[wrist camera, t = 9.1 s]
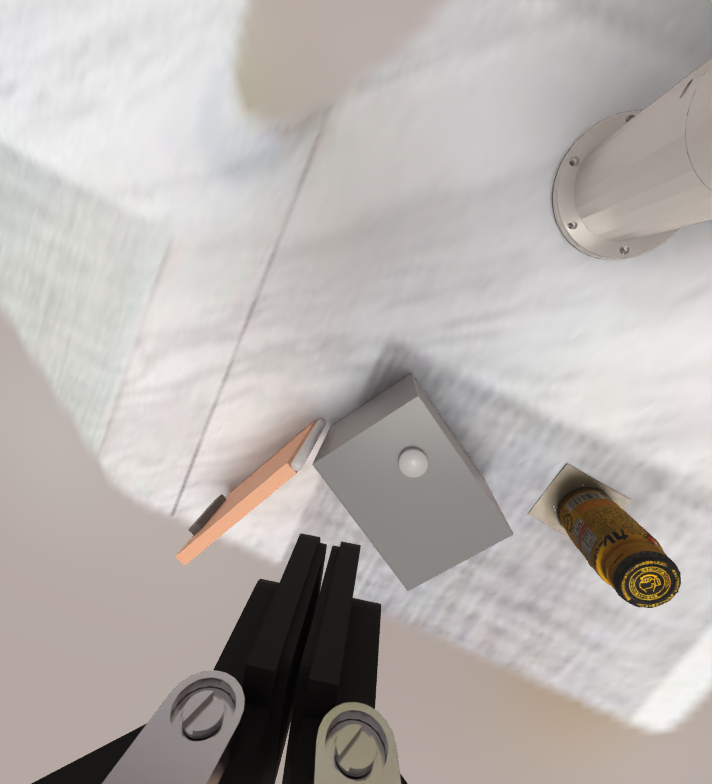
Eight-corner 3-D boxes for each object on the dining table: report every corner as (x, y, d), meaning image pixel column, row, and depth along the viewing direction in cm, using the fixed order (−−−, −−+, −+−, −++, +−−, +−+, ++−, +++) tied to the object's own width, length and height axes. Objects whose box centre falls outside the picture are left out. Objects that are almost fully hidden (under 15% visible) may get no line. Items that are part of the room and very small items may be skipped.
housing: (411, 372, 43) (418, 398, 32) (484, 479, 45) (516, 539, 34) (330, 426, 46) (310, 468, 34) (404, 526, 47) (408, 597, 36)
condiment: (590, 548, 46) (657, 631, 35) (527, 513, 46) (574, 585, 34) (630, 499, 44) (715, 569, 33) (566, 462, 44) (628, 520, 33)
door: (327, 423, 45) (304, 466, 33) (234, 501, 48) (184, 565, 37) (315, 410, 45) (288, 449, 33) (223, 490, 48) (169, 550, 36)
